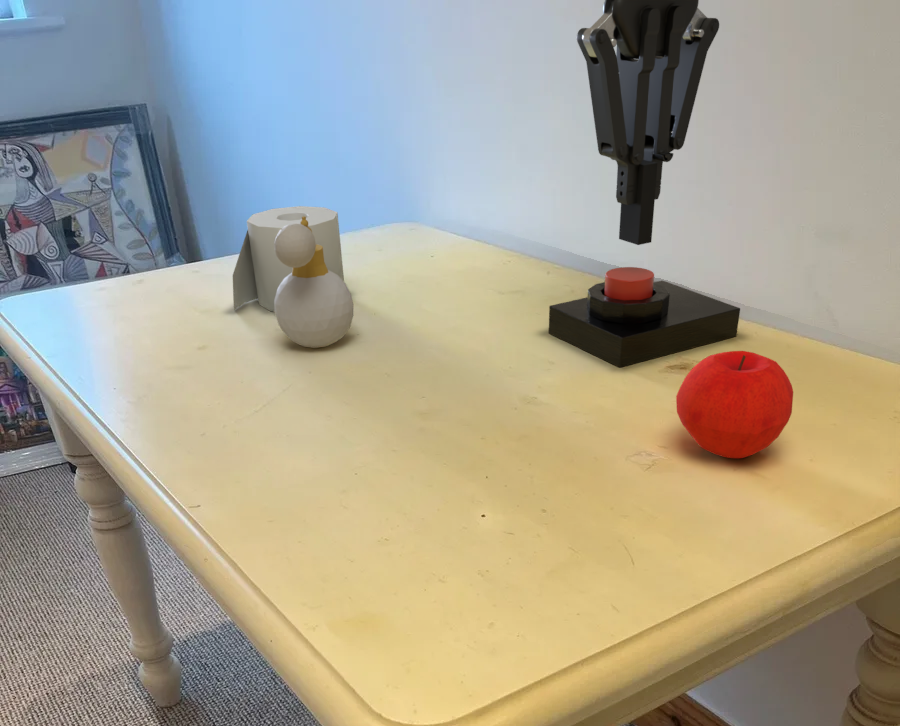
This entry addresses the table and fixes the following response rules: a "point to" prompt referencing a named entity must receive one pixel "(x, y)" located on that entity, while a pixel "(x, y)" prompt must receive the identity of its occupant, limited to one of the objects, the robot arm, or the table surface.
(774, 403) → the apple
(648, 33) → the robot arm
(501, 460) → the table surface
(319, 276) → the perfume bottle
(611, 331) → the button base
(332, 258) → the toilet tissue
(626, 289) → the button
